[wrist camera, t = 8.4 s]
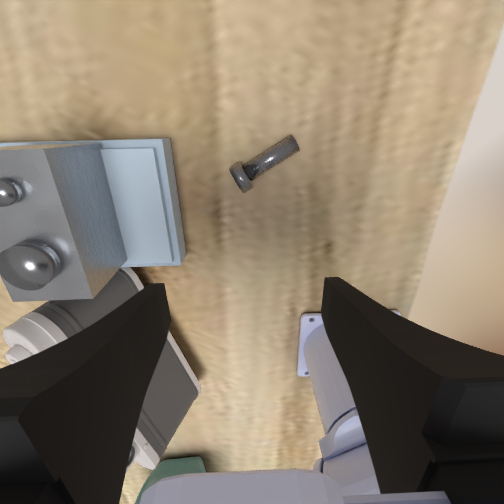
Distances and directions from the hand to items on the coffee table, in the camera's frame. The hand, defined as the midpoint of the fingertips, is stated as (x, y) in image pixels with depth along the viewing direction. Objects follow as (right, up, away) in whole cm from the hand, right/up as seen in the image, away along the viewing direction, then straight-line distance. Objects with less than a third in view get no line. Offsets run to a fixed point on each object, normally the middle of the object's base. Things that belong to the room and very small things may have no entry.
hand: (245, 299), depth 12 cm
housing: (-11, +5, +6) cm, 14 cm away
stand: (-11, +6, +8) cm, 15 cm away
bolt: (+2, +9, +7) cm, 12 cm away
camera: (-12, -6, +14) cm, 19 cm away
